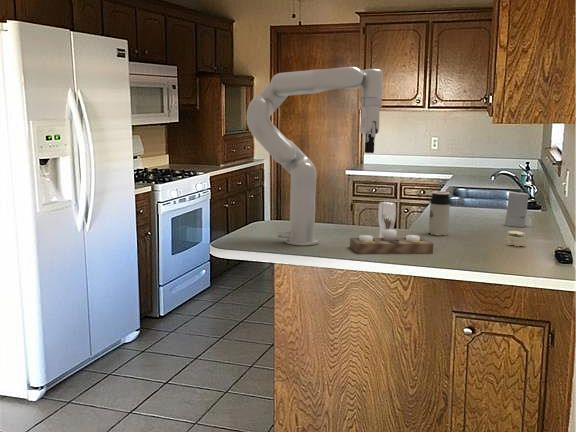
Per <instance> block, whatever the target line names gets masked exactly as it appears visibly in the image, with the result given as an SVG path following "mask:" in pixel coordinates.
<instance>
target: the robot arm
mask: <svg viewBox="0 0 576 432" xmlns="http://www.w3.org/2000/svg"><path fill="white" fill-rule="evenodd" d="M383 82H384V73H383V70H381V69H379V68H366V69H360V68H359V67H356V66H345V67H333V68H324V69H322V68H321V69H310V70H298V71H286V72H279V73H276V74H275V75H274V76H272V78H271V80H270V83H269V84H268V85H267V86H266V88H265V89H264V90H263V91H262V92H261V93H260V94H259V95H258V96H256V97H254V98H252V99H251V101H250V102H249V105H248V107H247V110H246V116H245V117H246V124H247V128H248V129H249V131H250V133H251V135H252V136H253V137H254V139H256V141H258V143H259V144H260V145H261V146H262V147H263V149H265V151H267V153H268V154H269V155H270V156H271V157H272V159H273V160H274V161H275V162H276V163H278V164H280V165H281V166H282V168H284V169H285V170H286V172H288V173H289V175H290V193H289V194H290V198H289V200H290V204H289V229H287V231H284V232H277V233H276V234H277V235H276V236H277V238H283V239H284V238H285V240H284V241H285V243H286V244H288V245H293V246H303V247H304V246H307V247H308V246H313V245H314V246H315V245H318V243H319V240H318V239H317V238H315V227H316V226H315V224H316V221H315V220H316V192H317V191H316V189H317V168H316V166H315V164H314V163H313V162H312V160H311V159H310V158H309V157H308V156H307V155H306V154H305V153H304V152H303V151H302V150H301V149H300V148H299V147H298V146H297V145H296V144H295V143H294V142H293V141H292V140H290V139H288V138H287V137H286V136H285V135H284V134H283V133H282V132H281V131H280V130H279V128H278V127H276V125H274V124H273V123H272V121H271V119H270V117H271V116H272V114H274V112H276V111H277V109H279V107H280V106H281V104H283V103H284V102H285V101H286V100H287V98H288V96H289V97H290V96H299V95H310V94H311V95H313V94H318V93H319V94H320V93H323V92H326V91H331V90H341V89H349V90H356V89H361V98H360V99H361V101H360V102H361V103H360V107H361V115H360V124H359V125H360V126H359V127H360V128H359V132H360V134H364V154H374V152H375V139H376V135H377V134H379V132H380V108H382V102H383V100H382V99H383V85H384V84H383Z"/></svg>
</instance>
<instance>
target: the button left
mask: <svg viewBox="0 0 576 432" xmlns="http://www.w3.org/2000/svg"><path fill="white" fill-rule="evenodd" d="M358 238H359V241H373V238H374V236H373V235H370V234H369V235H368V234H360V235H359V236H358Z"/></svg>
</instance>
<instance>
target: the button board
mask: <svg viewBox="0 0 576 432" xmlns="http://www.w3.org/2000/svg"><path fill="white" fill-rule="evenodd" d="M349 248H350V249H352V250H353V251H354V252H356V253H357V254H365V255H367V254H369V255H370V254H376V255H377V254H433V253H434V243H432V242H431V241H429V240H428V239H425V238H423V237H420V241H407V240H406V237H396V241H383V238H379V237H373V241H359V237H350V238H349Z"/></svg>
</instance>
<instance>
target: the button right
mask: <svg viewBox="0 0 576 432" xmlns="http://www.w3.org/2000/svg"><path fill="white" fill-rule="evenodd" d="M405 238H406V240H407V241H420V238H421V237H420V235H416V234H408V235H405Z"/></svg>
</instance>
